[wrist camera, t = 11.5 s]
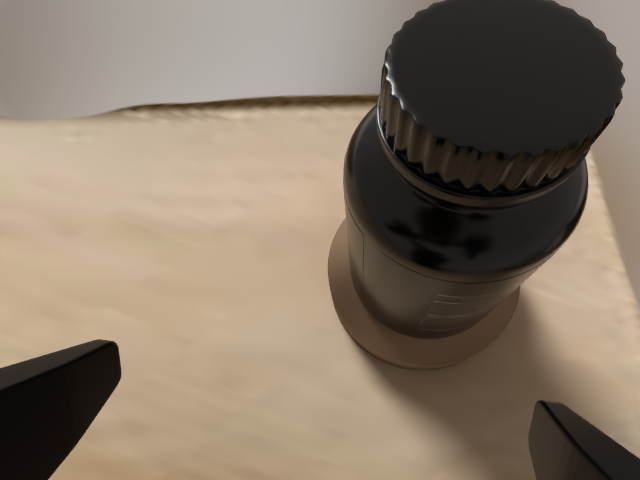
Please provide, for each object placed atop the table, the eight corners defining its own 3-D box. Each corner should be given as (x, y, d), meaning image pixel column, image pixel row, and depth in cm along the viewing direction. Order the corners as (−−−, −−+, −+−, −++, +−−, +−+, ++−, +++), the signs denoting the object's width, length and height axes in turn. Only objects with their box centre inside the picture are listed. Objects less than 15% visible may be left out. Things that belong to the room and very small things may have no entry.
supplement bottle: (507, 228, 19) (697, -18, 9) (479, 364, 17) (698, 261, 6) (372, 192, 21) (388, -56, 10) (328, 312, 18) (287, 155, 8)
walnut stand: (540, 305, 20) (563, 290, 18) (397, 407, 19) (403, 406, 16) (427, 183, 24) (435, 158, 21) (300, 261, 22) (293, 243, 20)
